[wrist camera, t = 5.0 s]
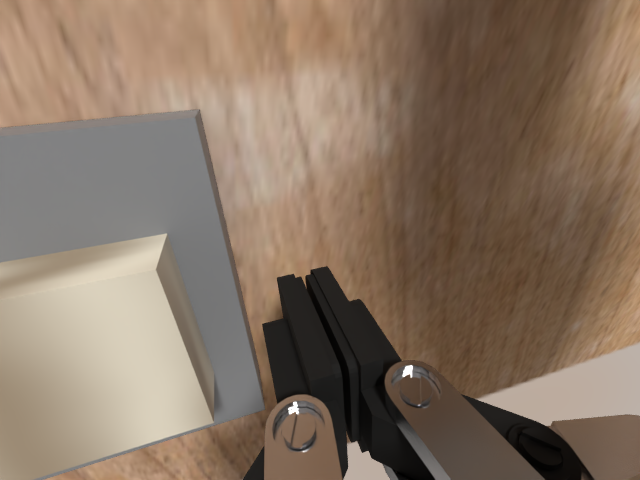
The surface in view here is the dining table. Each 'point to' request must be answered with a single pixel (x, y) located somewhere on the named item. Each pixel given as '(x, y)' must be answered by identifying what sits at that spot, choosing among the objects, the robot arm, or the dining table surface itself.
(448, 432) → the robot arm
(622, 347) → the dining table surface
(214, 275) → the grey flat slab
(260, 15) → the dining table surface
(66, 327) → the birch tile
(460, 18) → the dining table surface
